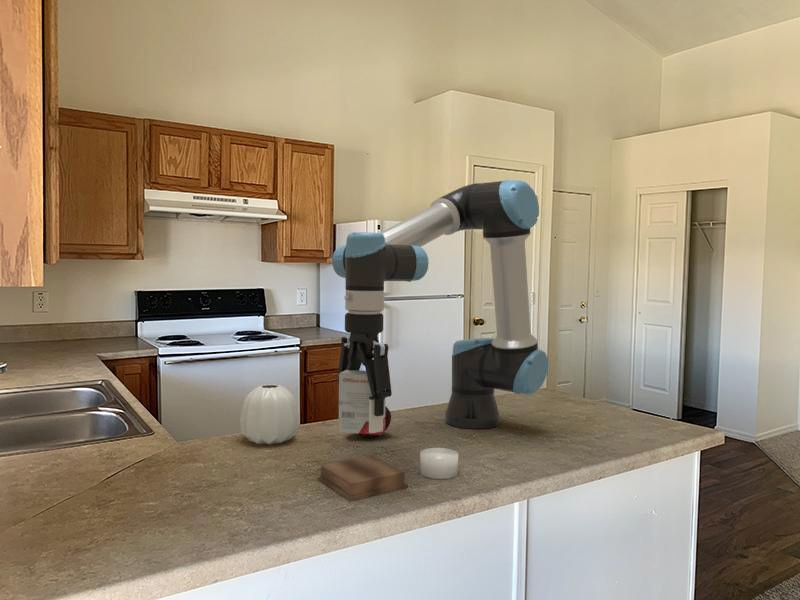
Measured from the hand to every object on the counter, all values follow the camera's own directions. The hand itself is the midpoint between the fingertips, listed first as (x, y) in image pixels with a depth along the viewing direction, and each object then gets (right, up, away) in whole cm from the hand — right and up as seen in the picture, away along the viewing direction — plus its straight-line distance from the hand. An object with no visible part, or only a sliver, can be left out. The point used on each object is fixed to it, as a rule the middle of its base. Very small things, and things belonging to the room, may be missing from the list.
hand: (362, 425), depth 121 cm
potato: (-1, -10, +33) cm, 35 cm away
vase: (-25, -10, +29) cm, 39 cm away
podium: (0, -12, +1) cm, 12 cm away
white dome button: (+16, -11, +8) cm, 21 cm away
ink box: (0, -1, 0) cm, 1 cm away
